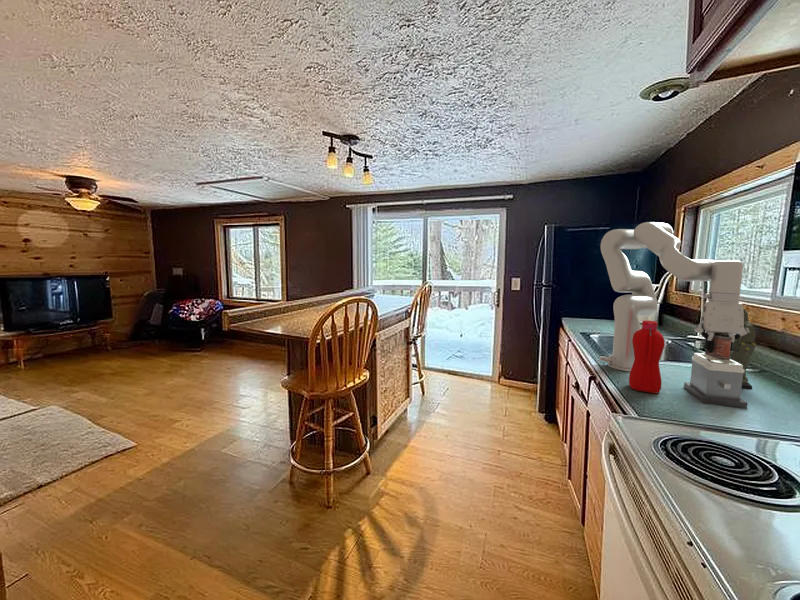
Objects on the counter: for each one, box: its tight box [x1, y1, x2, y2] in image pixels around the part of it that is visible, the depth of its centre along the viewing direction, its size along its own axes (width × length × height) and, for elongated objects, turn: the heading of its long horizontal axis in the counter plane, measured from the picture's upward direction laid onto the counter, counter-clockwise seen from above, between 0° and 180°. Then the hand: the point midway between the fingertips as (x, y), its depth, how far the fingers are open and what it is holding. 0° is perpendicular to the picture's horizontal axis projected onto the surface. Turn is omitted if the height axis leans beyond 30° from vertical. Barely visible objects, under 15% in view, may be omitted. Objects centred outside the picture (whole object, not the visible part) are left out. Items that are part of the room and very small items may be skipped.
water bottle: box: [628, 320, 665, 394], centre depth 127 cm, size 9×11×25 cm
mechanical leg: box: [729, 308, 757, 390], centre depth 134 cm, size 14×7×30 cm, turn 168°
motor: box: [683, 352, 749, 409], centre depth 121 cm, size 11×16×14 cm
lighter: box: [704, 332, 732, 360], centre depth 119 cm, size 8×3×10 cm, turn 178°
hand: (717, 351), depth 120 cm, fingers closed on lighter, 4 cm apart
